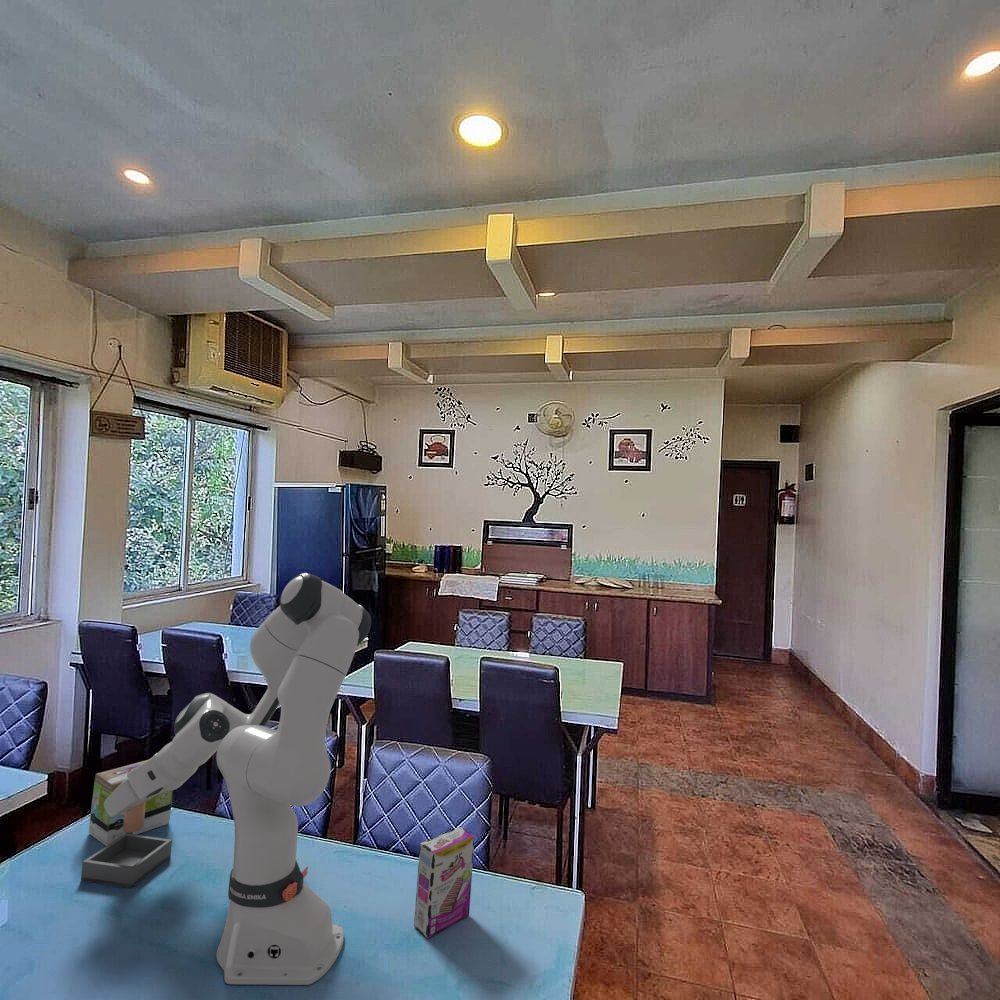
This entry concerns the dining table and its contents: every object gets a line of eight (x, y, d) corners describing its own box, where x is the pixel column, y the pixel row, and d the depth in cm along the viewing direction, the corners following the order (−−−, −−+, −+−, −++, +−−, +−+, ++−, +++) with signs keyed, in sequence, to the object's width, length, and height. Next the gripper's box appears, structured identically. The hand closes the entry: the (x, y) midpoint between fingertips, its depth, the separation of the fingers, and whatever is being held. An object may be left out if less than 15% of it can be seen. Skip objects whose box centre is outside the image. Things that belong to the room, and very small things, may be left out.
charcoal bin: (170, 857, 134) (172, 839, 134) (131, 888, 122) (132, 869, 122) (124, 850, 136) (125, 833, 136) (80, 880, 124) (82, 861, 124)
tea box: (106, 848, 136) (112, 784, 137) (87, 834, 142) (93, 773, 143) (171, 823, 149) (176, 765, 150) (151, 811, 154) (156, 755, 155)
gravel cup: (148, 824, 132) (151, 784, 132) (134, 833, 128) (137, 792, 128) (132, 822, 132) (135, 782, 133) (118, 831, 128) (121, 789, 129)
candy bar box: (428, 940, 111) (433, 853, 112) (413, 927, 115) (418, 842, 116) (471, 916, 119) (475, 834, 120) (455, 904, 123) (460, 825, 124)
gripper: (199, 740, 139) (164, 774, 141) (123, 773, 119) (83, 813, 121) (213, 762, 137) (177, 796, 140) (138, 799, 118) (97, 839, 120)
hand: (133, 804), depth 130 cm, fingers closed on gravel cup, 4 cm apart
